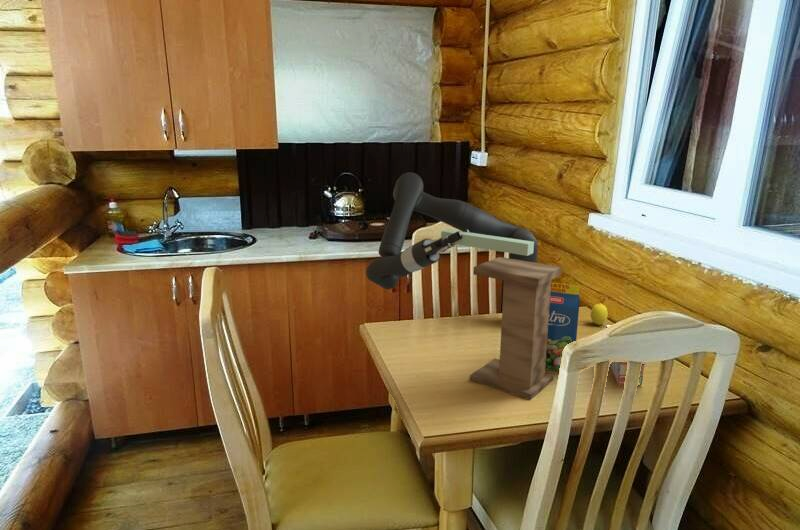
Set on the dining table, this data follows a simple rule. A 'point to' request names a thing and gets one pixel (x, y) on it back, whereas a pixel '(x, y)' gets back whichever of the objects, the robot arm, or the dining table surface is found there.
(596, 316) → the lemon
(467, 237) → the sage bar
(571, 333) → the blue food package
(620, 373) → the stack of blocks
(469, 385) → the dining table surface
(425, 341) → the dining table surface
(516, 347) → the walnut stand
